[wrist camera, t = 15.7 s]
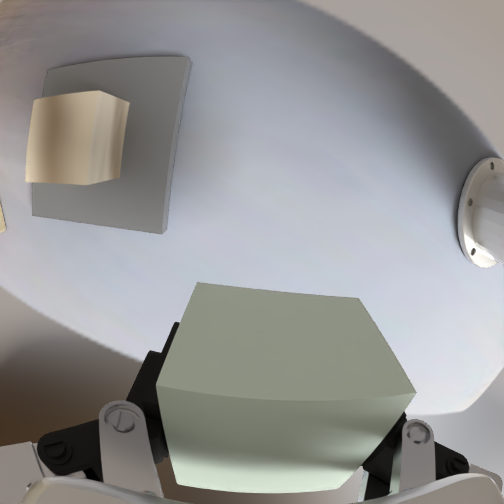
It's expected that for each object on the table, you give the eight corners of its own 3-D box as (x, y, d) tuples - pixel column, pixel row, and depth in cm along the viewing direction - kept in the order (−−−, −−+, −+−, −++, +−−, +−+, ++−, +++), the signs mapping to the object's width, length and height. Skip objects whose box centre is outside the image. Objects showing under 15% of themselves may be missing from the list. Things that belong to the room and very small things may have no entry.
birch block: (129, 102, 17) (99, 90, 13) (119, 177, 19) (87, 185, 14) (70, 106, 17) (34, 99, 12) (62, 174, 19) (25, 182, 14)
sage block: (358, 298, 10) (416, 392, 5) (319, 402, 12) (337, 488, 7) (197, 282, 10) (155, 384, 5) (196, 393, 12) (177, 483, 7)
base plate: (192, 62, 18) (188, 56, 16) (166, 229, 22) (161, 234, 21) (56, 73, 17) (48, 70, 15) (41, 212, 21) (32, 215, 20)
